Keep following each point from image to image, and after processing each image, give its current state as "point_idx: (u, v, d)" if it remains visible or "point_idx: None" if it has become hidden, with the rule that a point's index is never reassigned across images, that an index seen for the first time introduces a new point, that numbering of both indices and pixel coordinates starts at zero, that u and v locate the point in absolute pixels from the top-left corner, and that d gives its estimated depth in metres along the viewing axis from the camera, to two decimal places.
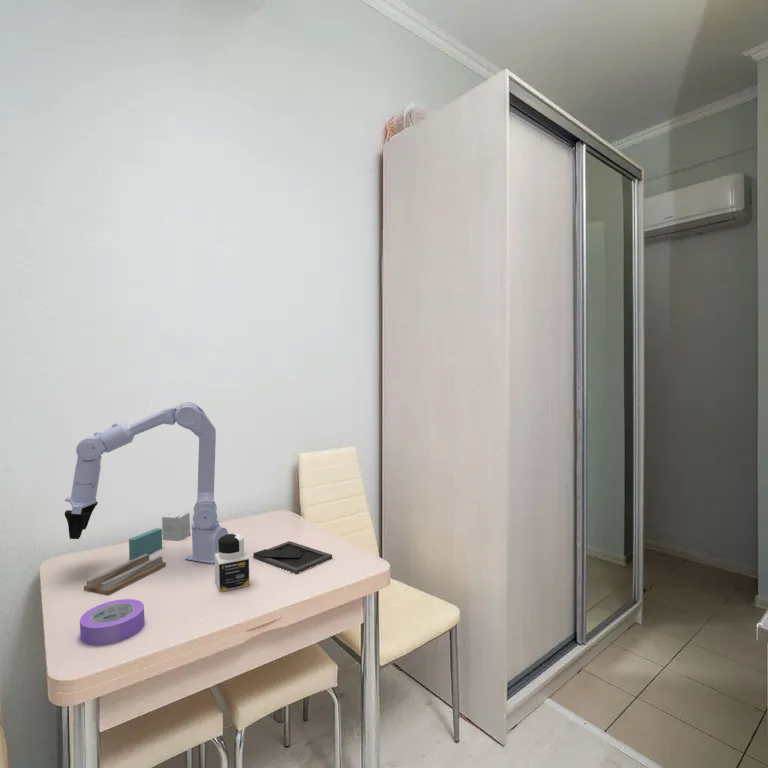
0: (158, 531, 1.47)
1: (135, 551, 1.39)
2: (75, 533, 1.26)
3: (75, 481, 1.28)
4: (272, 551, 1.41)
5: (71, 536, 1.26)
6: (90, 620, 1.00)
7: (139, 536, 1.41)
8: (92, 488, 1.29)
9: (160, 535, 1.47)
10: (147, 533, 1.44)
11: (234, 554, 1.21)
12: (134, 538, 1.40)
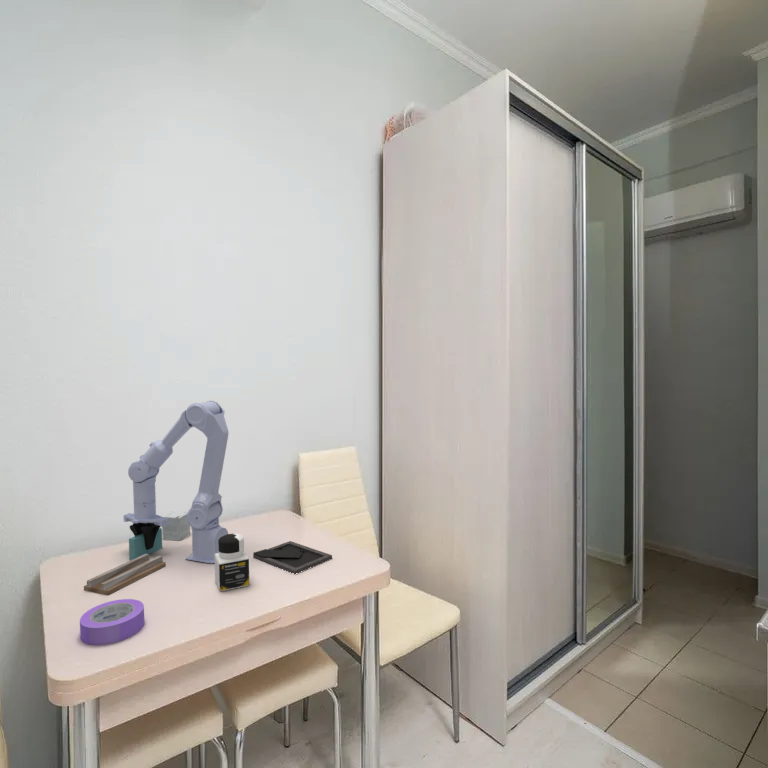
0: (158, 531, 1.47)
1: (135, 550, 1.39)
2: (151, 543, 1.43)
3: None
4: (272, 551, 1.42)
5: (148, 547, 1.43)
6: (90, 620, 1.00)
7: (139, 536, 1.41)
8: (155, 503, 1.44)
9: (160, 535, 1.47)
10: None
11: (234, 554, 1.21)
12: (134, 538, 1.40)
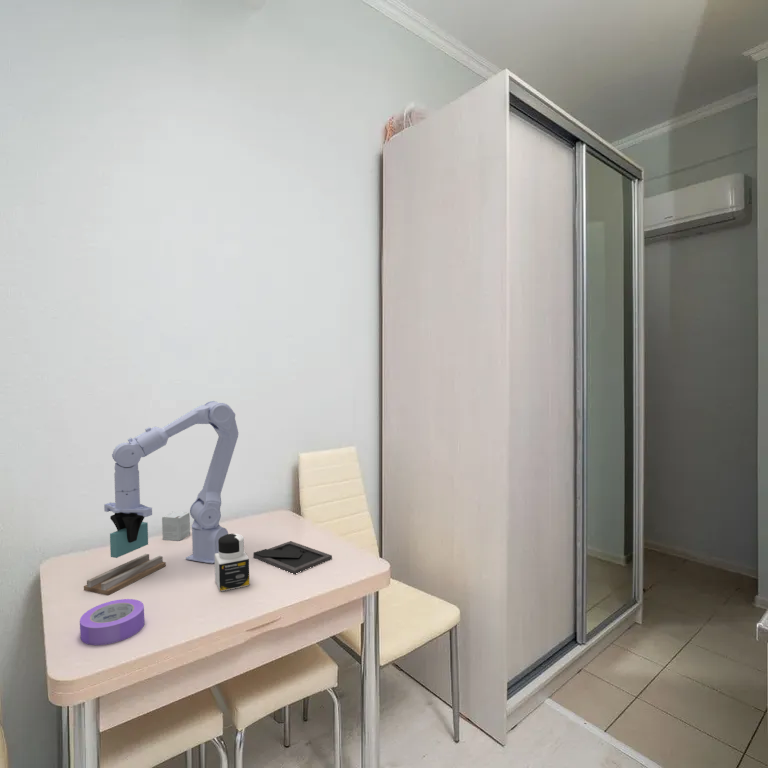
0: (143, 525, 1.33)
1: (117, 546, 1.26)
2: (134, 535, 1.29)
3: (119, 489, 1.27)
4: (272, 551, 1.42)
5: (131, 540, 1.29)
6: (90, 620, 1.00)
7: (122, 530, 1.28)
8: (139, 491, 1.31)
9: (146, 529, 1.34)
10: None
11: (234, 554, 1.21)
12: (116, 532, 1.26)
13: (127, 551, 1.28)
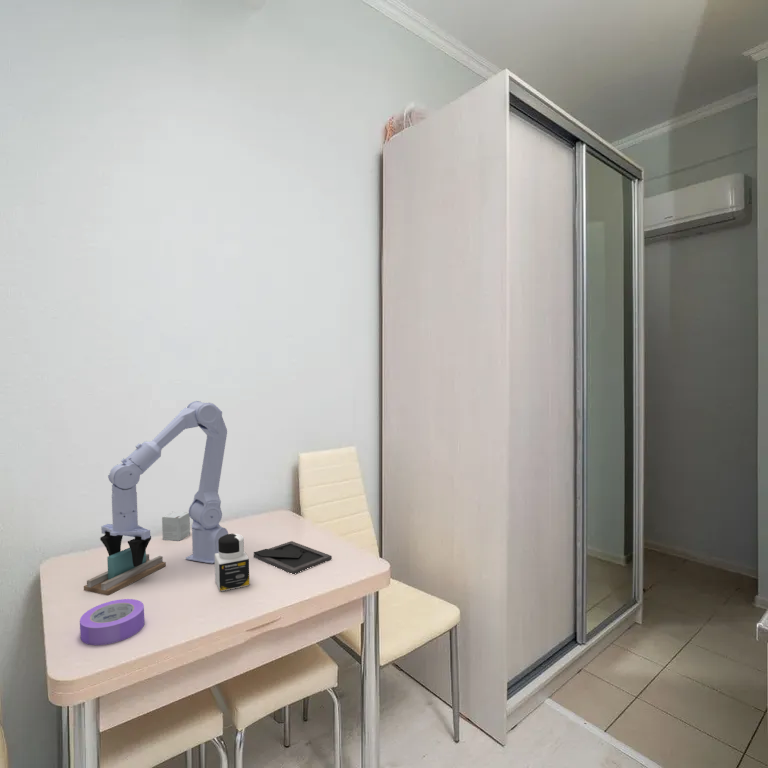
0: None
1: (115, 570, 1.23)
2: (139, 559, 1.26)
3: (118, 512, 1.24)
4: (272, 551, 1.42)
5: (137, 564, 1.26)
6: (90, 620, 1.00)
7: (119, 553, 1.26)
8: None
9: None
10: (129, 549, 1.28)
11: (234, 554, 1.21)
12: (113, 555, 1.24)
13: None
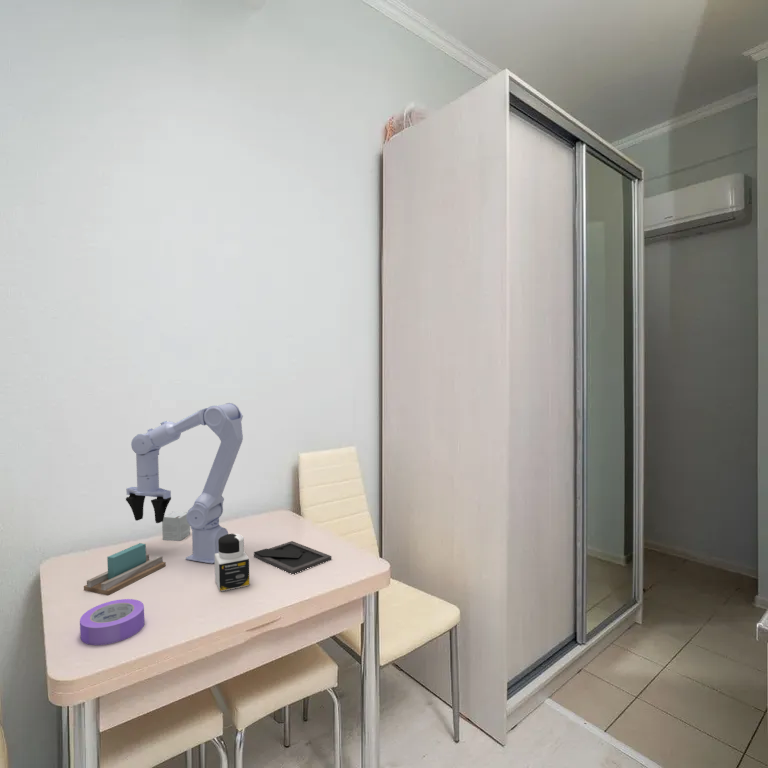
0: (141, 547, 1.31)
1: (115, 570, 1.23)
2: (161, 517, 1.43)
3: None
4: (273, 551, 1.42)
5: (158, 521, 1.42)
6: (90, 620, 1.00)
7: (119, 553, 1.26)
8: (158, 476, 1.45)
9: (144, 551, 1.32)
10: (129, 549, 1.28)
11: (234, 554, 1.21)
12: (113, 555, 1.24)
13: None
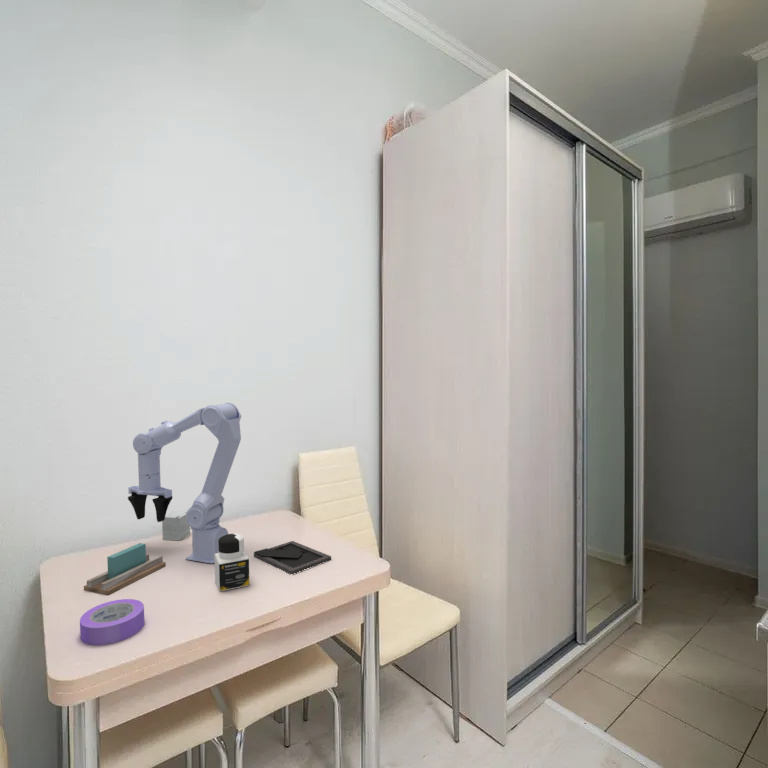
0: (141, 547, 1.31)
1: (115, 570, 1.23)
2: (162, 516, 1.44)
3: None
4: (273, 550, 1.42)
5: (160, 519, 1.43)
6: (90, 620, 1.00)
7: (119, 553, 1.26)
8: None
9: (144, 551, 1.32)
10: (129, 549, 1.28)
11: (234, 554, 1.21)
12: (113, 555, 1.24)
13: None
